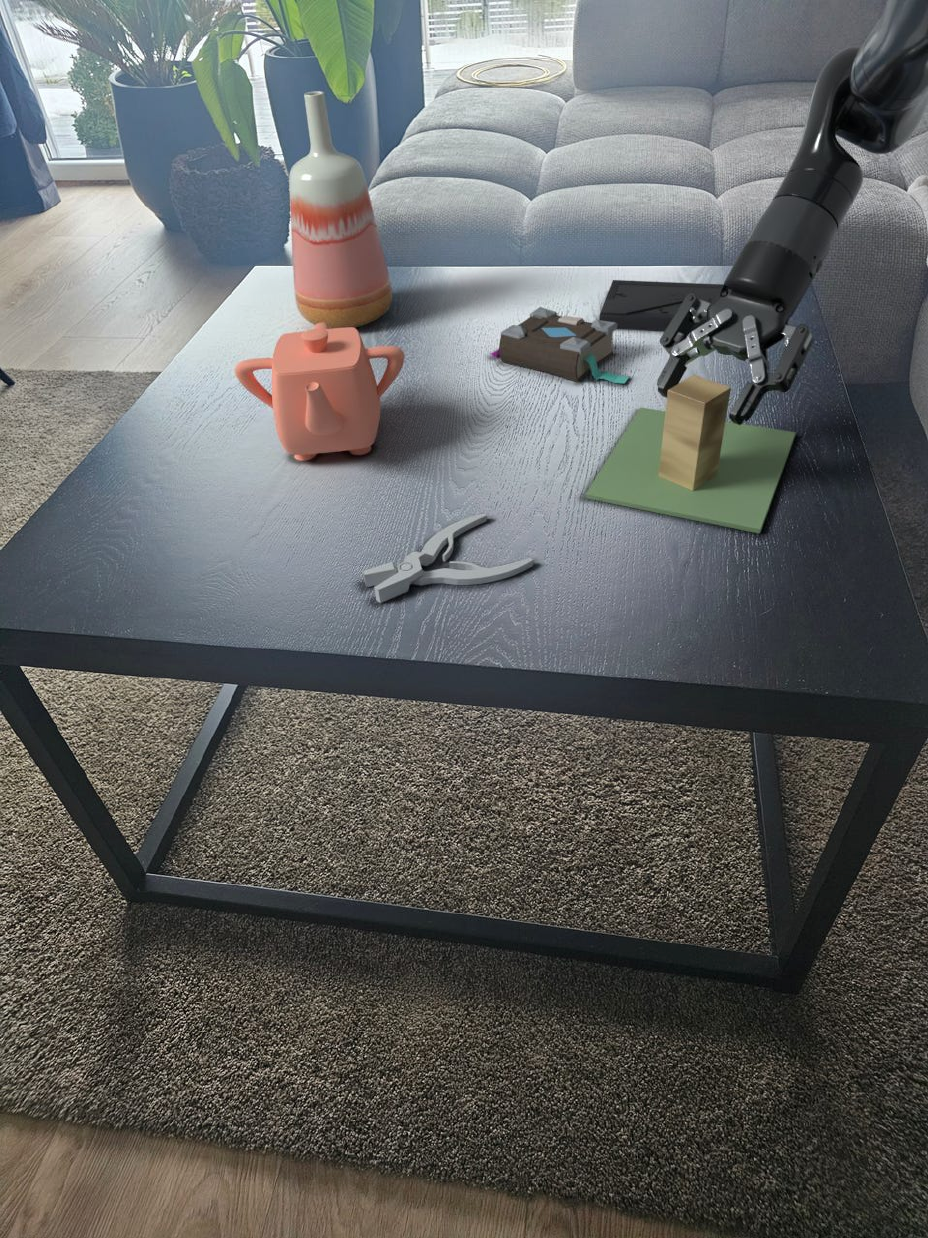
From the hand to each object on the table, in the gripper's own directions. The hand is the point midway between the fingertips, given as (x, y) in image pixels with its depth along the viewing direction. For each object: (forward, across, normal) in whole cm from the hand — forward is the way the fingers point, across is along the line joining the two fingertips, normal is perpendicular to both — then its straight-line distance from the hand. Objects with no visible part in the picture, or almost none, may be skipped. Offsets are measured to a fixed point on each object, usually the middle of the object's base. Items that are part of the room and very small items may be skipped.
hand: (697, 407), depth 86 cm
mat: (+4, -1, +8) cm, 9 cm away
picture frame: (-18, -28, +31) cm, 46 cm away
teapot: (+21, -36, -9) cm, 42 cm away
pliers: (+26, -8, -14) cm, 31 cm away
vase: (+3, -64, +9) cm, 65 cm away
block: (+6, 0, +5) cm, 8 cm away
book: (-4, -29, +16) cm, 33 cm away
